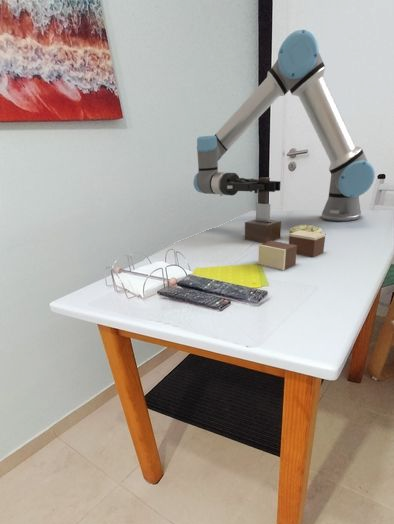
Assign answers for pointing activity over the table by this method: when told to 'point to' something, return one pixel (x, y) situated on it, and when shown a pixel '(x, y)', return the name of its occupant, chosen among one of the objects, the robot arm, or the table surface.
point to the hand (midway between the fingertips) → (277, 186)
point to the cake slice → (277, 255)
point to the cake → (308, 242)
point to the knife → (263, 204)
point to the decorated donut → (305, 228)
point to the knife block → (262, 231)
